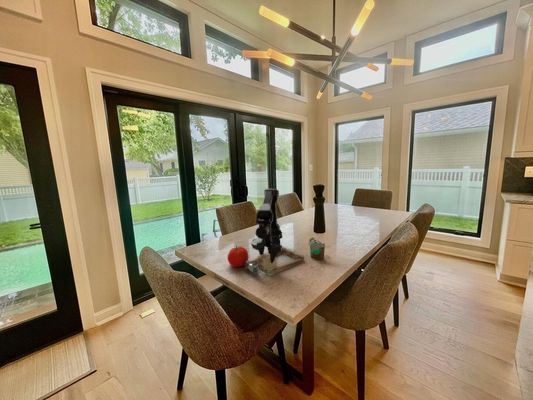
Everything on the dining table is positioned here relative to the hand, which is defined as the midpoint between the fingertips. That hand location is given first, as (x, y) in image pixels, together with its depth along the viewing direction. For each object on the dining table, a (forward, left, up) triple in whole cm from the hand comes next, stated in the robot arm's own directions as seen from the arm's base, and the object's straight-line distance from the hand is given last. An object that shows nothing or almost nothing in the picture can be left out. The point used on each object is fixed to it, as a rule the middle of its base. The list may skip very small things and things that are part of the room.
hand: (266, 260), depth 119 cm
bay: (0, +6, -4) cm, 7 cm away
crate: (0, 0, -4) cm, 4 cm away
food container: (+9, +28, -4) cm, 30 cm away
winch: (+1, -9, -4) cm, 10 cm away
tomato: (-12, -11, -4) cm, 17 cm away
